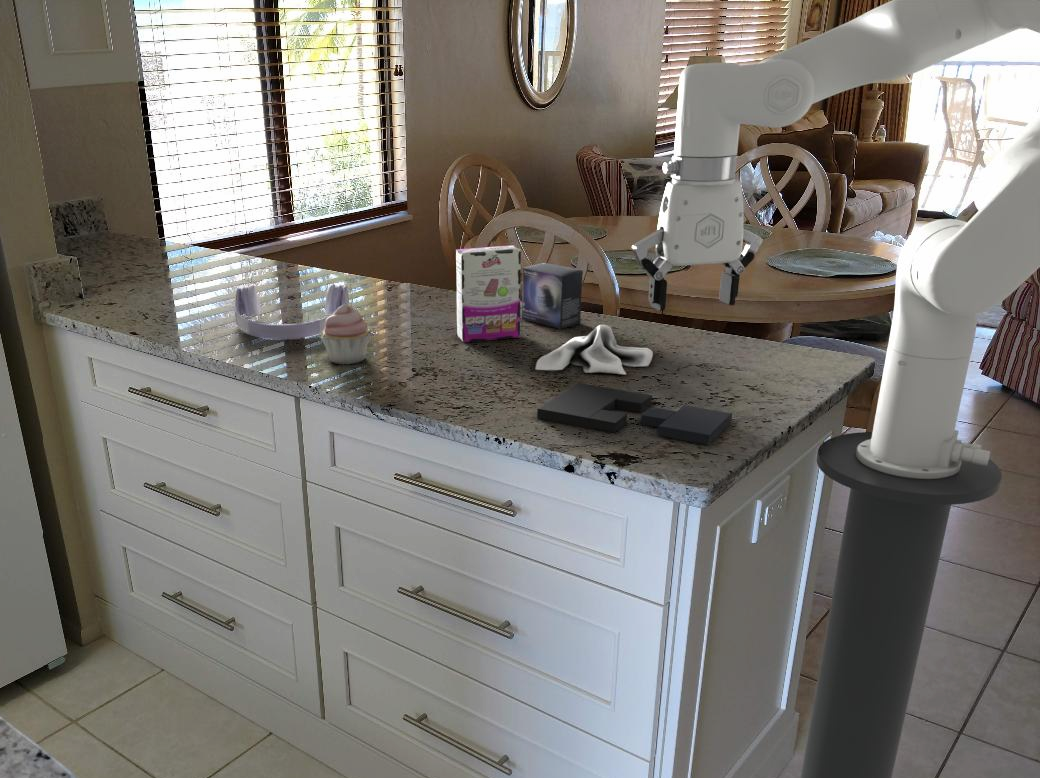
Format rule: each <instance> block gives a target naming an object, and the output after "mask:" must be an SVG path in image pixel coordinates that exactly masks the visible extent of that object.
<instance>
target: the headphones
mask: <svg viewBox="0 0 1040 778" xmlns="http://www.w3.org/2000/svg"><path fill="white" fill-rule="evenodd" d="M235 291H236V292H235V302H234V306H233V310H234V319H235V324H236V326H237V325H238V326H239V327H240V328H239V327H238V326H237V328H238V329H239V330H240V331H241V332H242V333H244V334H247V335H249V336H253V337H256V338H260V339H268V340H294V339H302V338H309V337H312V336H316V335H319V333H322V332H323V330H325V322H326V319H327V318H328V317H330V316H332V315H334V313H335V311H336V310H337V309H338V308H339V307H340V306H342V305H344V304H347V305H349V304H350V296H349V291H348V287H347V285H344V286H343V285H341V284H338V285H336V284H334V283H331V284H329V286H328V289H327V291H326V296H325V301H324V311H325V312H324V314H325V316H324V317H321V318H318V319H315V320H310V321H307V322H306V321H305V322H301V323H291V324H290V323H288V324H287V323H286V324H283V323H282V324H273V323H271V324H269V323H261V322H257V321H253V320H251V319H253V318H254V317H249V316H258V317H257V318H260V317H261V303H260V299H259V295H258V291H257V287H256V284H254V283H251V284H249V285H248V286H246V285H244V286H242V287H237V289H236V290H235ZM243 314H244V316H242V317H241V315H243ZM259 315H260V316H259ZM326 315H329V316H326ZM246 316H248V317H249V318H248V317H246ZM245 317H246V318H245ZM241 328H242V329H241ZM243 329H244V330H243ZM246 330H247V331H246Z"/></svg>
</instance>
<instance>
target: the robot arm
mask: <svg viewBox="0 0 1040 778" xmlns="http://www.w3.org/2000/svg"><path fill="white" fill-rule="evenodd" d="M1021 29H1022V30H1023V29H1028V30H1031V31H1033V32H1036V33H1038V34H1040V0H890V1H887V2H885V3H883V4H881V5H879V6H876V7H874V8H872V9H871V10H868V11H866V12H864V13H863V14H861V15H858V16H857V17H856V18H854V19H851V20H848V21H847V22H845V23H843V24H840V25H838V26H836V27H834V28H831V29H830V30H827V31H825V32H823V33H820V34H818V35H815V36H813V37H811V38H809V39H807V40H805V41H802V42H800V43H798V44H796V45H793V46H791V47H789V48H787V49H785V50H783V51H780V52H778V53H776V54H773V55H771V56H769V57H767V58H765V59H762V60H760V61H759V62H757V63H752V64H745V65H743V64H742V65H740V64H738V63H734V62H703V63H694V64H689V65H687V66H686V67H684V68H683V70H682V71H681V74H680V76H679V81H678V82H679V83H678V95H677V97H678V98H677V108H676V123H675V137H674V138H675V139H674V149H673V155H672V157H671V160H670V161H669V162H664V163H663V165H662V172H663V174H665V175H670V178H672V179H671V181H667V183H666V186H665V190H664V193H663V197H662V200H661V205H660V209H659V216H658V222H657V229H656V230H655V231H653V232H652V233H650V234H648V235H647V236H645V237H643V238H642V239H640V240H638V241H637V242H635V243H634V244H632V246H631V250H632V253H633V255H634V257H635V259H636V261H637V265H638V266H639V268H641V270H643V272H645V274H646V275H647V276H648V277H649V285H648V302H649V303H650V306H651V308H653V309H655V310H657V311H658V312H663V311H665V310H666V305H667V303H666V302H667V291H668V280H666V279H665V276H666V275H667V274H668V273H669V272H670V270H671V269H672V268H673V267H674V266H678V267H679V266H680V267H681V266H683V267H685V266H699V265H712V264H713V265H714V264H722V265H723V266H724V267H725V270H722V272H721V274H720V283H719V284H720V285H719V294H718V300H719V301H720V302H721V303H724V304H725V305H728V306H735V305H736V299H737V297H738V296H739V287H740V277H741V275H742V274H744V273H745V270H746V268H747V267H748V266H749V265H750V264H751V263H752V261H753V260H754V259H755V257H756V254H757V252H758V251H759V249H760V247H761V245H762V244H763V241H764V239H763V237H762V236H759V235H757V234H755V233H754V232H752V231H750V230H749V229H746V228H744V224H745V223H744V218H745V216H744V213H745V212H744V211H745V210H744V196H743V187H742V186H743V185H742V181H741V180H737V179H735V178H736V169H737V161H738V160H737V159H738V149H739V148H738V147H739V139H740V128H741V127H740V126H741V125H744V126H745V125H747V126H755V127H762V128H770V129H771V128H772V129H776V128H777V129H778V128H785V127H788V126H790V125H793V124H794V123H796V122H798V121H800V120H801V119H802V118H803V117H804V116H805V115H806V114H807V113H808V111H810V108H811V107H812V105H813V104H816V103H818V102H821V101H823V100H825V99H828V98H830V97H832V96H836V95H838V94H840V93H844V92H846V91H849V90H852V89H855V88H858V87H862V86H866V85H869V84H876V83H881V82H887V81H892V80H897V79H900V78H903V77H906V76H909V75H912V74H915V73H919V72H921V71H923V70H925V69H927V68H929V67H932V66H934V65H937V64H939V63H942V62H943V61H945V60H948V59H950V58H952V57H955V56H957V55H959V54H962V53H964V52H967V51H968V50H971V49H974V48H976V47H978V46H981V45H984V44H986V43H988V42H991V41H993V40H995V39H997V38H999V37H1002V36H1005V35H1007V34H1009V33H1012V32H1014V31H1018V30H1021ZM972 190H973V191H972V192H973V193H972V197H973V202H974V205H975V207H976V209H977V210H978V211H977V212H976V213H975V214H974V215H973V216H972V217H971V218H970V219H969V220H968V221H964V220H960V219H955V218H941V219H935V220H932V221H929V222H927V223H925V224H924V225H921V226H920V227H919V228H917V229H916V230H915V231H913V233H911V235H910V236H909V237H908V238H907V240H906V241H905V242H904V244H903V246H902V248H901V249H900V250H901V251H900V253H899V256H898V260H897V266H896V271H895V272H896V275H895V290H894V291H895V292H894V304H893V305H894V306H893V314H892V321H891V327H890V333H889V339H888V344H887V347H886V348H887V349H886V354H885V360H884V366H883V371H882V378H881V382H880V389H879V392H878V399H877V403H876V404H877V405H876V409H875V410H876V412H875V416H874V422H873V428H872V431H871V432H872V438H871V439H869V440H866V441H864V442H862V443H860V444H859V445H858V447H857V450H856V457H857V459H858V460H859V461H860V462H861V463H863V464H864V465H866V466H868V467H870V468H872V469H874V470H877V471H879V472H882V473H886V474H889V475H894V476H899V477H905V478H913V479H939V478H946V477H949V476H952V475H954V474H956V473H957V472H958V471H959V470H960V467H961V461H966V462H972V463H973V464H979V465H984V466H987V464H988V460H989V459H990V456H991V450H986V449H982V444H975V443H966V442H963V441H962V439H958V436H959V430H958V429H956V426H957V421H958V415H959V412H960V406H961V402H962V398H963V393H964V388H965V385H966V378H967V374H968V371H969V370H968V369H969V365H970V359H971V356H972V352H973V347H974V343H975V337H976V332H977V326H978V325H977V324H978V315H980V314H982V313H985V312H987V311H989V310H991V309H993V308H995V307H996V306H998V305H999V304H1000V303H1002V302H1003V301H1005V300H1006V299H1007V298H1008V297H1010V296H1011V295H1012V294H1013V293H1014V292H1015V291H1016V290H1017V289H1018V288H1020V286H1022V285H1023V284H1024V282H1025V281H1027V280H1028V279H1029V278H1030V277H1031V276H1032V275H1033V274H1034V273H1035V272H1037V270H1038V269H1039V268H1040V111H1039V112H1038V113H1037V114H1036V115H1034V117H1033V118H1032V119H1031V120H1030V121H1029V122H1028V123H1027V124H1026V125H1025V127H1024V128H1022V129H1021V130H1020V131H1019V133H1017V134H1016V135H1015V137H1014V138H1012V139H1011V141H1009V143H1008V144H1007V145H1006V146H1005V147H1004V148H1003V149H1002V150H1001V151H1000V152H998V154H997V155H996V156H995V157H994V158H993V159H992V160H991V161H990V162H989V163H988V164H987V165H986V166H985V167H984V168H983V169H982V171H981V172H980V174H979V175H978V177H977V178H976V180H975V183H974V187H973V189H972ZM744 242H745V246H744V248H743V245H744ZM654 247H655V255H656V258H655V259H654V260H653V261H652V260H650V257H649V254H648V252H649V250H650V249H653V248H654Z"/></svg>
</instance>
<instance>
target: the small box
mask: <svg viewBox="0 0 1040 778" xmlns="http://www.w3.org/2000/svg"><path fill="white" fill-rule="evenodd" d="M583 275H584V270H583V269H579V268H573V267H569V266H568V267H567V266H561V265H557V264H552V263H547V262H542V263H537V264H533V265H529V266H525V267H522V275H521V276H522V277H521V279H522V280H521V281H522V282H521V317H520V320H525V321H529V322H532V323H535V324H540V325H543V326H548V327H550V328H555V329H559V330H562V329H565V328H568V327H572V326H575V325H579V324H581V314H582V313H581V312H582V294H583V293H582V292H583V291H582V288H583V287H582V286H583Z"/></svg>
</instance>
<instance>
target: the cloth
mask: <svg viewBox="0 0 1040 778" xmlns="http://www.w3.org/2000/svg"><path fill="white" fill-rule="evenodd" d="M653 353H654V352H653V350H651V348H648V347H633V346H621V345H619V344H617V340H616V337H615V335H614V333H613V329H612V327H611V326H610V325H607V324H599V325H597V326H596V327H595V328H594V329H593V330H592V331H590V332H589V333H588V334H587V335H583V336H575V337H573V338H571V339H569V340H568V341H567V342H566V343H564V344H562V345H561V346H559V347H558V348H556V349H553V350H552V351H551V352H549V353H547V354H545V355H542V356H541V357H540V358H539V359H537V361H536V364H535V369H534V370H536V371H563V370H564V369H565V368H566V367H567V366H568V365H569V364H570V365H572V366H579V367H582V368H583V372H584V373H585V374H588V373H589V374H593V373H603V374H617V375H625V376H626V375H627V372H626V371H625V370H624V368H623V366H624V367H633V368H636V367H641V368H642V367H649V366H650V363H651V362H652V360H653V359H652V358H653V355H654V354H653Z"/></svg>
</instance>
